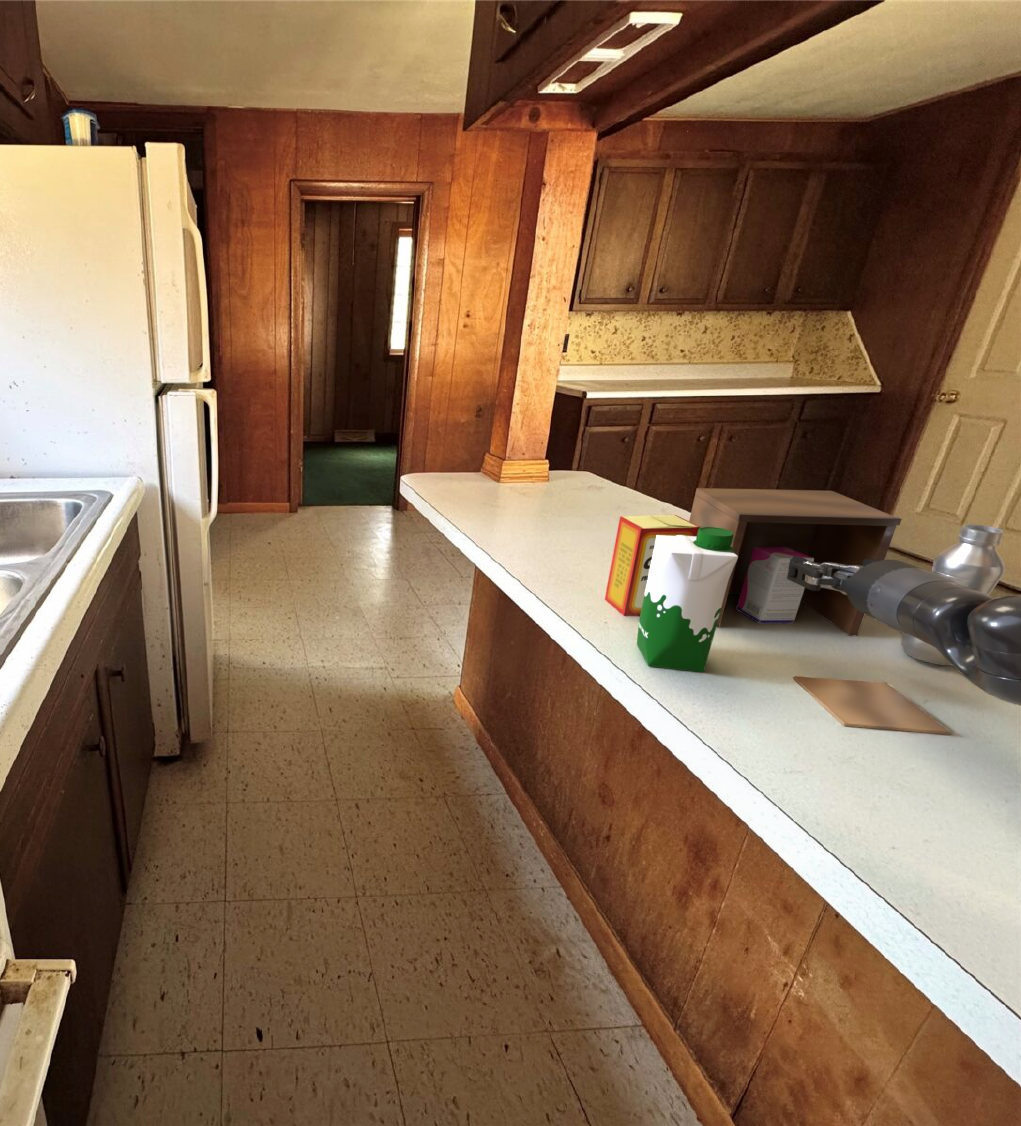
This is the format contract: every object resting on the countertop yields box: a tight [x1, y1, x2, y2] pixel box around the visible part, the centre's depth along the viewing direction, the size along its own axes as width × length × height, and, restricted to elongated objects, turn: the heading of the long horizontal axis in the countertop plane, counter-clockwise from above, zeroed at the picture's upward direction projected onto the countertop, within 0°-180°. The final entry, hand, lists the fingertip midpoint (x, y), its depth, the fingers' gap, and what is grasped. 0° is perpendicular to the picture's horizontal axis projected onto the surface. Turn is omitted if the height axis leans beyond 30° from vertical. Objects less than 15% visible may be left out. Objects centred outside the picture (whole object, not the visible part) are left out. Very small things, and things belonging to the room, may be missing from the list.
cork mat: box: [792, 675, 952, 736], centre depth 80 cm, size 11×11×1 cm
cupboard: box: [688, 487, 903, 637], centre depth 102 cm, size 16×21×19 cm
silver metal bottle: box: [900, 523, 1006, 666], centre depth 86 cm, size 6×7×20 cm
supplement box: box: [735, 547, 814, 625], centre depth 101 cm, size 6×6×12 cm
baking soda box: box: [604, 514, 701, 617], centre depth 105 cm, size 10×6×16 cm
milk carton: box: [636, 527, 738, 673], centre depth 88 cm, size 9×9×20 cm
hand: (829, 564), depth 89 cm, fingers open, 8 cm apart
